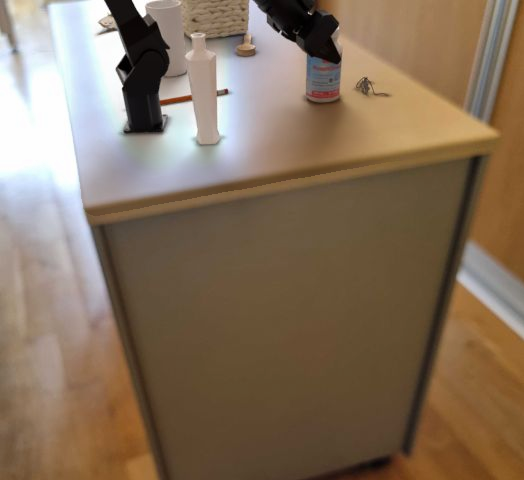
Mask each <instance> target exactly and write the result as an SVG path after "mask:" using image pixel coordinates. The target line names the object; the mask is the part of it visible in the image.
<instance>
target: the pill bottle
mask: <svg viewBox="0 0 524 480" xmlns="http://www.w3.org/2000/svg"><path fill="white" fill-rule="evenodd" d="M331 37H332V40H333V42H334V44H335V46H336V48H337V50H338V52H339V55H340V57H341V61H340V63H339V64H338V65H337V64H334V63H331V62H328V61H325V60H322V59H320V58H317V57H313V58H311V57H310V56H309V55H307V54H306V65H305V66H306V67H305V68H306V70H305V71H306V72H305V97H306V98H307V99H308V100H309V101H311V102H313V103H321V104H322V103H331V102H334V101H336V100H338V99H339V98H340V92H341V79H342V78H341V76H342V63H343V45H342V44H341V42H340V41H339V38H340V25H339V26H338V28H337V29H336V31H335V32H334V33H333V34H332V36H331Z"/></svg>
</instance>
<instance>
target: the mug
mask: <svg viewBox="0 0 524 480" xmlns="http://www.w3.org/2000/svg"><path fill="white" fill-rule="evenodd" d="M144 9H145V15H146V14H148V13H150V14H151V15H152V17H153V18H154V19H155V20H156V22H157V24H158V26H159V29H160V32H161V36H162V38H163V39H164V40H165V42H166V43H167V44H168V45H169V47H170V49H169V50H168V49H166V51H167V53H168V56H169V59H170V64H169V67H168V71H167V72H166V74H165V75H164V76H163V77H178V76H182V75H185V74H186V73H187V67H186V62H185V55H186V54H187V52H186V43H185V32H184V30H183V20H182V10H181V2H180V1H177V0H152V1H148V2H147V3H145V4H144Z"/></svg>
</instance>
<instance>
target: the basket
mask: <svg viewBox="0 0 524 480" xmlns="http://www.w3.org/2000/svg"><path fill="white" fill-rule="evenodd" d="M177 1H180V2H181V10H182V20H183V30H184V35H186V36H187V37H188V38H189V39H191V40H192V37H191V36H190V35H191V34H195V33H203V34H206V35H205V40H206V39H210V38H211V39H214V38H219V37H221V38H225V37H228V36H236V35H241V34H247V32H248V31H249V20H250V16H249V15H250V0H177Z"/></svg>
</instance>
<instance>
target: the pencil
mask: <svg viewBox="0 0 524 480" xmlns="http://www.w3.org/2000/svg"><path fill="white" fill-rule="evenodd" d="M226 94H229V88H223V89H222V88H221V89H217V96H220V95H226ZM186 101H192V95H191V94H188V95H181V96H176V97H170V98H164V99H160V105H161V106H164V105H171V104H175V103H176V104H177V103H181V102H182V103H183V102H186Z"/></svg>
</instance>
